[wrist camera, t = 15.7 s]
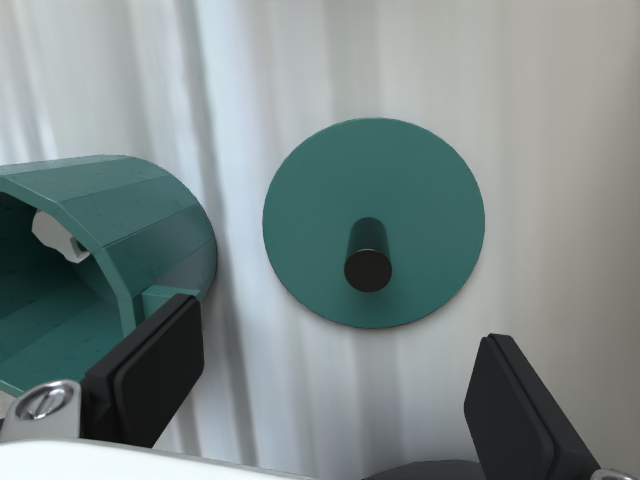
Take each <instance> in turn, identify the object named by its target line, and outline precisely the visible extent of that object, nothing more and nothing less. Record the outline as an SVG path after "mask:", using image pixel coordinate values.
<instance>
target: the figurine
mask: <svg viewBox="0 0 640 480" xmlns="http://www.w3.org/2000/svg"><path fill="white" fill-rule="evenodd" d="M32 232H33V233H34V234H35V235H36V237H37V238H38V239H39V240H40V241H41V242H42V243H43V244H44V245H45V246H48V247H51V248H54V249H56V250H58V251H59V252H61V253H62V254H63V255H64V256H65V258H66V259H67V260H69V261H71V262H76V263H79V262H81V261H82V260H84V259H85V258H86V257H88V256H89V255H90V252H89V251H85V252H82V251H81V250H80V249H79V247H78V245H77V242H76V240H77V239H76V238H74V237H73V236H72V235H71V234H70V233H69V232H68V231H67V230H66V229H65V228H64V227H63V226H62V225H61V224H60V223H59V222H58V221H57V220H56V219H54V218H53V217H52V216H51V215H49V214H47V213H45V212H43V211H41V210H39V209H37V211H36V214H35V217H34V219H33V225H32ZM77 241H78V240H77Z"/></svg>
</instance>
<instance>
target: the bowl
mask: <svg viewBox="0 0 640 480" xmlns="http://www.w3.org/2000/svg"><path fill="white" fill-rule="evenodd" d="M362 480H486V478H485V475H484V472H483V469H482V466H481V463H476V462H470V461H463V460H445V461H429V462H414V463H411V464H408V465H404V466H401V467H398V468H395V469H392V470H389V471H385V472H382V473H379V474H376V475H373V476H371V477H368V478H365V479H362Z"/></svg>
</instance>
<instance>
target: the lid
mask: <svg viewBox="0 0 640 480" xmlns="http://www.w3.org/2000/svg"><path fill="white" fill-rule="evenodd" d="M262 225H263V238H264V243H265V248H266V251H267V254H268V257H269V260H270V263H271V265H272V267H273V269H274V271H275V273H276V274H277V276H278V278H279V279H280V281H281V282H282V284H283V285H284V286H285V287H286V288H287V290H288V291H289V292H290V293H291V294H292V295H293V296H294V297H295V298H296V299H297V300H298V301H299V302H300V303H302V304H303V305H305V306H306V307H307V308H309V309H310V310H312V311H313V312H315V313H317V314H319V315H320V316H322V317H325V318H327V319H329V320H332V321H335V322H338V323H341V324H344V325H349V326H355V327H363V328H384V327H391V326H397V325H401V324H405V323H408V322H411V321H414V320H416V319H419V318H421V317H424V316H425V315H427V314H429V313H431V312H433V311H435V310H436V309H437V308H439V307H440V306H442V305H443V304H444V303H446V302H447V301H448V300H449V299H450V298H451V297H452V296H453V295H455V294H456V292H457V291H458V290H459V289H460V288H461V287H462V285H463V284H464V283H465V281H466V280H467V278H468V277H469V275H470V274H471V272H472V270H473V268H474V266H475V264H476V262H477V260H478V257H479V254H480V251H481V248H482V244H483V238H484V231H485V214H484V206H483V200H482V197H481V193H480V190H479V187H478V185H477V182H476V180H475V178H474V176H473V174H472V172H471V171H470V169H469V168H468V166H467V164H466V163H465V161H464V160H463V159H462V158H461V157H460V156H459V154H458V153H457V152H456V151H455V150H454V149H453V148H452V147H451V146H449V145H448V144H447V143H446V142H445V141H444V140H442V139H441V138H439V137H438V136H436V135H434V134H433V133H431V132H430V131H428V130H426V129H423V128H421V127H419V126H417V125H414V124H411V123H408V122H404V121H400V120H396V119H388V118H360V119H354V120H348V121H345V122H341V123H338V124H334V125H332V126H330V127H328V128H325V129H323V130H321V131H319V132H317V133H316V134H314V135H312V136H311V137H309V138H308V139H306V140H305V141H304V142H303V143H301V144H300V145H299V146H298V147H297V148H295V149H294V150H293V151H292V153H291V154H290V155H289V156H288V157H287V158H286V159H285V160H284V162H283V163H282V165H281V166H280V168H279V169H278V171H277V172H276V174H275V176H274V178H273V180H272V182H271V184H270V187H269V190H268V193H267V195H266V199H265V204H264V209H263V222H262Z"/></svg>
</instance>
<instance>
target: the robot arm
mask: <svg viewBox="0 0 640 480" xmlns="http://www.w3.org/2000/svg"><path fill="white" fill-rule="evenodd" d="M203 369H204V350H203V335H202V320H201V305H200V301H199V300H196V297H195V296H194V295H190V294H183V293H176V294H175V295H174V296H172V297H171V298H170V299H169V300H168V301H167V302H166V303H164V304H163V305H162V306H161V307H160V308H159V309H158V310H156V311H155V312H154V313H153V314H152V315H151V316H150V317H148V318H147V319H146V320H145V321H144V322H143V323H141V324H140V325H139V326H138V327H137V328H136V329H135V330H133V331H132V332H131V333H130V334H129V335H128V336H127V337H125V338H124V339H123V340H122V341H121V342H120V343H118V344H117V345H116V346H115V347H114V348H113V349H112V350H110V351H109V352H108V353H107V354H106V355H105V356H104V357H102V358H101V359H100V360H99V361H98V362H97V363H96V364H94V365H93V366H92V367H91V368H90V369H89V370H87V371H86V372H85V377H84V378H83V379H82V380H81V381H80V382H79V383H77V382H76V381H74V380H70V379H58V380H53V381H48V382H46V383H43V384H40V385H37V386H35V387H33V388H31V389H29V390H27V391H26V392H25V393H23V394H22V395H20V396H19V397H18V398H17V399H16V400H15V401H14V402H13V403H12V404H11V405H10V407H9V408H8V410H7V412H6V416H5V418H3V419H0V480H322V479H317V478H312V477H306V476H301V475H295V474H290V473H285V472H279V471H274V470H268V469H263V468H257V467H252V466H247V465H241V464H235V463H230V462H224V461H219V460H213V459H207V458H202V457H196V456H191V455H185V454H179V453H174V452H168V451H163V450H157V449H152V447H153V446H154V444H155V443H156V441H157V440H158V438H159V437H160V435H161V434H162V432H163V431H164V429H165V428H166V426H167V425H168V423H169V422H170V420H171V419H172V417H173V416H174V414H175V413H176V411H177V410H178V408H179V407H180V405H181V404H182V403H183V401H184V400H185V398H186V397H187V395H188V394H189V392H190V391H191V389H192V388H193V386H194V385H195V383H196V382H197V380H198V379H199V377H200V376H201V374H202V372H203ZM464 414H465V418H466V421H467V424H468V427H469V430H470V433H471V436H472V439H473V442H474V445H475V448H476V451H477V454H478V457H479V460H480V463H481V466H482V469H483V472H484V475H485V478H486V480H638V479H636V478H634V477H632V476H630V475H628V474H626V473H623V472H620V471H617V470H614V469H605V468H602V469H601V467H600V466H599V464H598V463H597V461H596V460H595V458H594V457H593V455H592V454H591V453H590V451H589V450H588V448H587V447H586V445H585V444H584V442H583V441H582V439H581V438H580V436H579V435H578V433H577V432H576V430H575V429H574V427H573V426H572V425H571V423H570V422H569V420H568V419H567V417H566V416H565V414H564V413H563V411H562V410H561V408H560V407H559V405H558V404H557V402H556V401H555V400H554V398H553V397H552V395H551V394H550V392H549V391H548V389H547V388H546V387H545V385H544V384H543V382H542V381H541V379H540V378H539V377H538V375H537V374H536V372H535V371H534V369H533V368H532V366H531V365H530V363H529V362H528V360H527V359H526V357H525V356H524V354H523V353H522V351H521V350H520V349H519V347H518V346H517V344H516V343H515V341H514V340H513V338H512V337H511V336H508V335H500V334H493V333H490V334H489V335H488V336H487V337H483V338H482V339H481V342H480V346H479V350H478V353H477V357H476V361H475V365H474V368H473V372H472V376H471V379H470V383H469V387H468V391H467V394H466V398H465V402H464Z"/></svg>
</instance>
